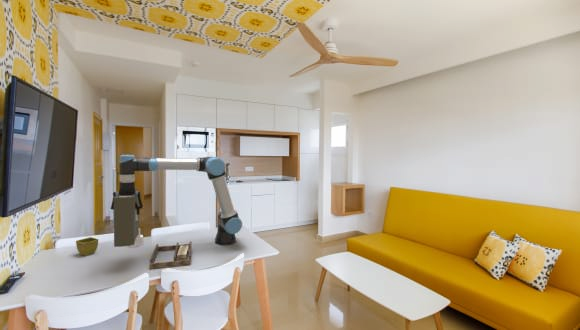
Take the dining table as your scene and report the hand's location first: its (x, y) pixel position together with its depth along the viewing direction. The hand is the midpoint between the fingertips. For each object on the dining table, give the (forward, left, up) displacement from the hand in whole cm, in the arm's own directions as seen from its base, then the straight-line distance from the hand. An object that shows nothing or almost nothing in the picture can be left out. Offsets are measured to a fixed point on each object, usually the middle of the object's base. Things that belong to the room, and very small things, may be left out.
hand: (127, 220), depth 154 cm
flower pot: (+27, -23, -26) cm, 44 cm away
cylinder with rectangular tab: (+2, -33, -26) cm, 42 cm away
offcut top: (-30, 0, -22) cm, 37 cm away
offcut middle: (-30, 0, -24) cm, 38 cm away
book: (0, 0, -12) cm, 12 cm away
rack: (-24, 0, -25) cm, 35 cm away
